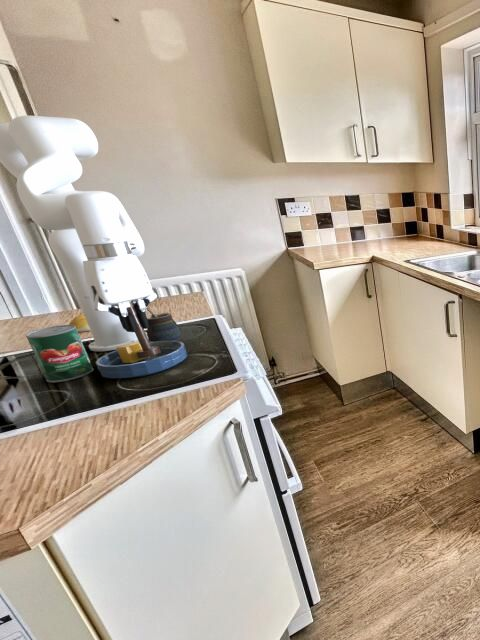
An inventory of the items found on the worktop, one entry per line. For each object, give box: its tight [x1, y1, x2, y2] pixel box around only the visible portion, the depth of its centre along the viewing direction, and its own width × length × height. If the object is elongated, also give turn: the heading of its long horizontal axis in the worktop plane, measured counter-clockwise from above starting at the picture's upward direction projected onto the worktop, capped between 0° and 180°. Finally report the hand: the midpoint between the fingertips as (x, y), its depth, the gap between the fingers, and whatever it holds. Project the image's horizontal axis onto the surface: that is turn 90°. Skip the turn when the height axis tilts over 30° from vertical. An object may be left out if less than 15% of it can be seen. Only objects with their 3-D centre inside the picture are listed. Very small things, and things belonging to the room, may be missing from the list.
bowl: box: [95, 340, 188, 379], centre depth 101 cm, size 16×16×4 cm
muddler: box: [126, 305, 161, 358], centre depth 100 cm, size 4×4×12 cm
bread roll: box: [68, 314, 91, 333], centre depth 130 cm, size 8×9×4 cm
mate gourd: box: [146, 306, 182, 342], centre depth 114 cm, size 7×8×10 cm
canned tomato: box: [25, 324, 94, 383], centre depth 96 cm, size 8×8×11 cm
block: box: [116, 342, 150, 363], centre depth 102 cm, size 4×4×4 cm
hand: (137, 329), depth 100 cm, fingers closed on muddler
